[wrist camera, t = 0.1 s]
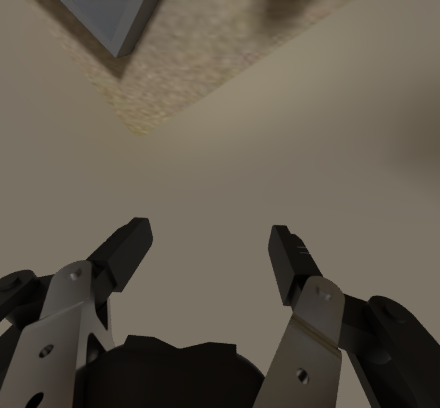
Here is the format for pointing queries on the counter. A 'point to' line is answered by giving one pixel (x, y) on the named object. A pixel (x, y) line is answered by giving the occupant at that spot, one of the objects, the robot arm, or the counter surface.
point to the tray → (113, 21)
